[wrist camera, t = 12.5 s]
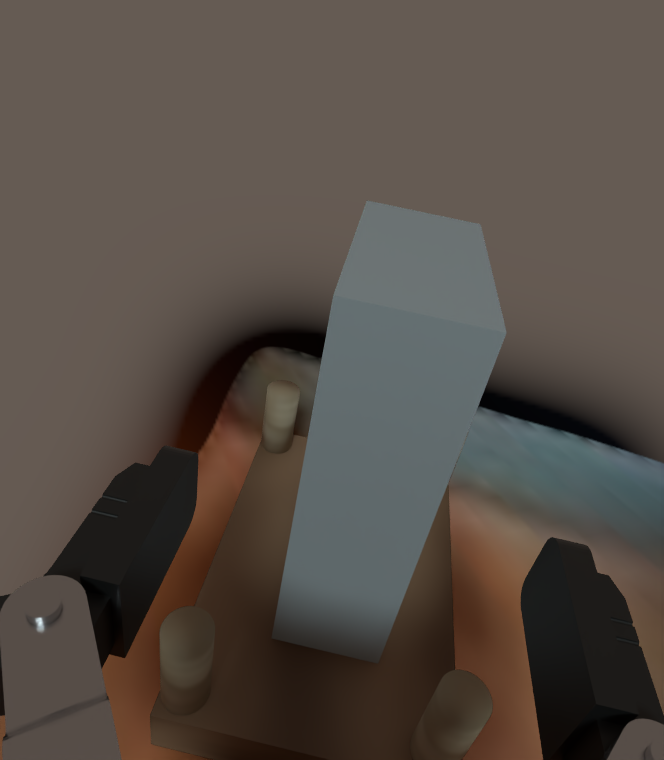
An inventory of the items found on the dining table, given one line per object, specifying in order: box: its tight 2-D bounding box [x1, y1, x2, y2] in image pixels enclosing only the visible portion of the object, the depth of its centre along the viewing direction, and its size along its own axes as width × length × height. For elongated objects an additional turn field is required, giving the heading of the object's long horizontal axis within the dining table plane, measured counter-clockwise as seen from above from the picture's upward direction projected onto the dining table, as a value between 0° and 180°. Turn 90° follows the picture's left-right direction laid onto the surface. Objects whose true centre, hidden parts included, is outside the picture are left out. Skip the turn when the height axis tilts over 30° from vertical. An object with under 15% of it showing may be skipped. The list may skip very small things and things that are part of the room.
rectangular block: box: [272, 201, 506, 664], centre depth 20 cm, size 4×8×14 cm, turn 171°
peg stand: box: [150, 380, 493, 760], centre depth 23 cm, size 10×15×6 cm, turn 171°
